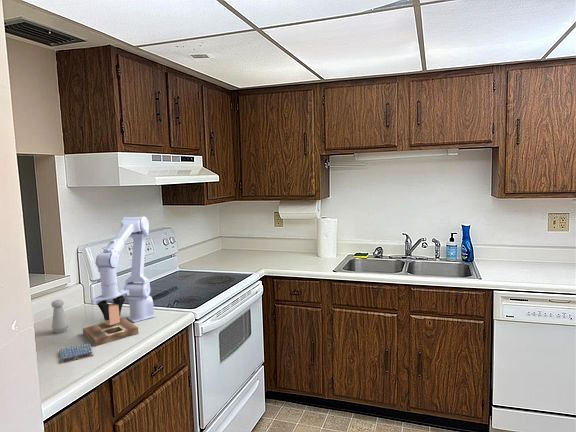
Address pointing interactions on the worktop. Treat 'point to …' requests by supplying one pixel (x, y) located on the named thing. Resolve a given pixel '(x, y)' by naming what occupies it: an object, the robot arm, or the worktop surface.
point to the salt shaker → (59, 317)
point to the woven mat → (76, 353)
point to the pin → (113, 314)
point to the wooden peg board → (110, 331)
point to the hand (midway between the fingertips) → (112, 317)
